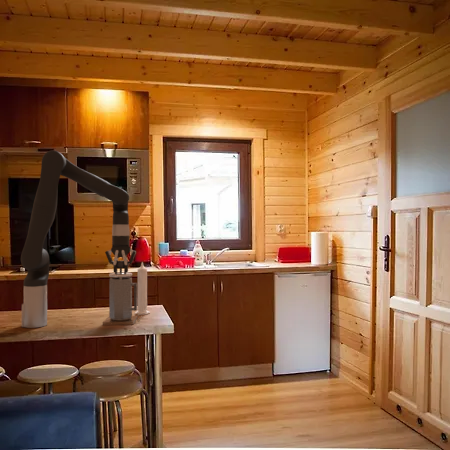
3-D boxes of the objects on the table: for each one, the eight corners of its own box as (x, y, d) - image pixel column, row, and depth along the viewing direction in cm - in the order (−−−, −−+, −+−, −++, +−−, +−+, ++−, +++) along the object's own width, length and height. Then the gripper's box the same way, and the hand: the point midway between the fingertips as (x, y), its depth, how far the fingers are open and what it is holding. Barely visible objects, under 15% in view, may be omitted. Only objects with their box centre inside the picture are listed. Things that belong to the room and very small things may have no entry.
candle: (135, 315, 208) (135, 262, 208) (134, 312, 215) (134, 261, 215) (150, 314, 210) (150, 262, 210) (148, 311, 216) (148, 261, 217)
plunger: (107, 316, 189) (106, 261, 189) (111, 312, 199) (111, 260, 199) (130, 316, 189) (130, 261, 189) (133, 311, 199) (133, 260, 199)
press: (102, 325, 187) (102, 280, 187) (109, 318, 200) (109, 276, 200) (134, 324, 188) (134, 280, 188) (138, 318, 201) (138, 276, 201)
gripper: (102, 235, 190) (102, 274, 190) (135, 234, 191) (135, 274, 191) (106, 234, 197) (106, 272, 197) (138, 234, 198) (138, 272, 198)
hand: (120, 273), depth 194 cm, fingers closed on plunger, 3 cm apart
